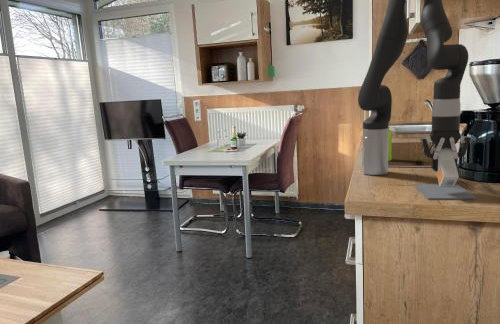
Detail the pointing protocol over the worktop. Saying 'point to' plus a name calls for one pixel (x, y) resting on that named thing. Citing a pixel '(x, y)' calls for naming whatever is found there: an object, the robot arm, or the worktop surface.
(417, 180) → the worktop surface
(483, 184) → the worktop surface
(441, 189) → the rubber mat
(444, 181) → the skincare box
